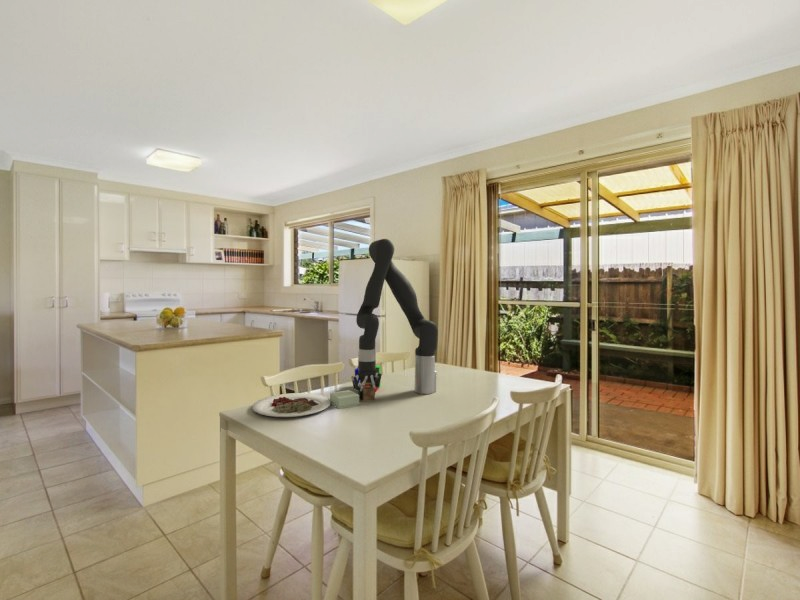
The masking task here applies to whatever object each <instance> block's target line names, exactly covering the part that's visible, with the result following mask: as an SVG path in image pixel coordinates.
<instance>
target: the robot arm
mask: <svg viewBox="0 0 800 600" xmlns="http://www.w3.org/2000/svg"><path fill="white" fill-rule="evenodd" d="M368 254H369V256H370V258H371V260H372V261H373V263H374V267H373V270H372V273H371V276H370V277H369V280H368V282H367V284H366V287H365V289H364V290H365V291H364V296H363V300H362V304H361V305H360V307H359V310H358V312H357V315H356V318H355V319H356V320H355V321H356V325H357V326H358V328H360V329H363V330H364V332H363V334H361V335H360V336H359V337H358V338H359V339H358V355H357V356H358V357H357V359H358V360H357V362H358V364H357V368H358V374H357V375H356V376H355V375H352V376H351V382H352V385H353V389H354V390H355V389H356V390H358V391H357V394H358V395H359V401H360V400H361V401H362V399H363V391H362V390H363V387H364V386H365V383H369V384H370V386H371V387H373V388H375V389H376V388H377V387H379V385H380V386H381V380H382V373H381V374H380V373H376V372H375V369H376V366H377V360H376V358H377V354H376V339H377V335H378V331H379V325H380V320H379V317H378V316H377V314H375V313H373V312H374V310H375V309H377V308H378V307H380V302H381V297H382V292H383V287H384V284H385V282H386V283H387V286H388V287H389V290H390V291H391V293H392V295H393V297H394V298H395V300H396V302H397V303H398V305H399V306H400V308H401V311H402V312H403V313H404V315H405V317H406V319H407V321H408V323H409V324H408V325H410V326H409V327H410V328H411V331H412V334H413V335H414V336H415V337H416V338H417V339H419V341H418V347H417V346H416V348H415V349H414V353H415V354H414V357H415V358H414V393H417V394H420V395H421V394H422V395H429V394H430V395H431V394H434V393H435V392H437V371H436V351H437V348H438V339H439V337H438V334H439V331H438V330H439V329H438V326H437V324H436V323H435V322H434V321H432V320H427V319H426V318H425V317H424V315H423V314H422V313H423V312H421V310H420V308H419V305H418V299H417V293H416V291H415V289H414V287H413V286H412V284H411V282H410V281H409V279H408V278H407V277H406V275H405V274H403V273H402V271H400V269H399V268H397V266H396V265H395V263H394V262H393V260H392V259H393V257H394V254H395V245H394V244H393V242H392V241H391V240H390V239H388V238H382V239H377V240H374V241H372V242H371V243H370V244H369V247H368ZM374 377H376V379H375V382H374ZM358 378H359V379H360V380H359V383H358V382H357V380H358ZM358 384H359V385H358Z"/></svg>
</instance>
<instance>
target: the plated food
mask: <svg viewBox="0 0 800 600" xmlns="http://www.w3.org/2000/svg"><path fill="white" fill-rule="evenodd" d="M301 393H303V392H298V393H297V392H293V393H283V394H281V393H280V394H276V395H271V396H267V397H264V398H261V399H259V400H257V401H255V402H254V403H253V404H252V410H253V411H254V413H257V414H259V415H263V416H266V417H267V416H268V417H276V418H295V417H297V418H298V417H305V416H308V415H312V414H316V413H319V412H321V411H324V410H326V409H327V408H328V407H330V405H331V404H330V398H328V397H326V396H324V395H320V394H317V393H306V392H304V393H303V394H301ZM289 398H290V399H289ZM269 401H270V402H269ZM271 402H273V403H271ZM259 403H260V404H259Z"/></svg>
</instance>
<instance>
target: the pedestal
mask: <svg viewBox="0 0 800 600" xmlns="http://www.w3.org/2000/svg"><path fill="white" fill-rule="evenodd" d="M329 400H330V405H331V406H333V407H335V408H336V409H338V410H340V409H344V408H345V409H346V408H350V407H358V406H361V405H362V403H361V402H360V399H359V395H358V393H356V392H354V391H352V390H348V389H347V390H342V391H334V392H330V393H329Z"/></svg>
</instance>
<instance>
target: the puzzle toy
mask: <svg viewBox="0 0 800 600" xmlns="http://www.w3.org/2000/svg"><path fill="white" fill-rule="evenodd" d="M375 372H376V373H380V374H382V371H381V365H376V369H375ZM357 374H358V367H356V368H355V369H354V376H356V375H357ZM375 379H376V377H374V382H375ZM359 380H360V379H359V378H358V380H357V382H358V383H359ZM358 385H359V384H358ZM365 386H370V384H369V383H365ZM380 387H381V384H380V385H379V387H377V388H376V389H375V393H376V392H377V391H378V390H380ZM354 391H355V392H358V390H356V389H354Z"/></svg>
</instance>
